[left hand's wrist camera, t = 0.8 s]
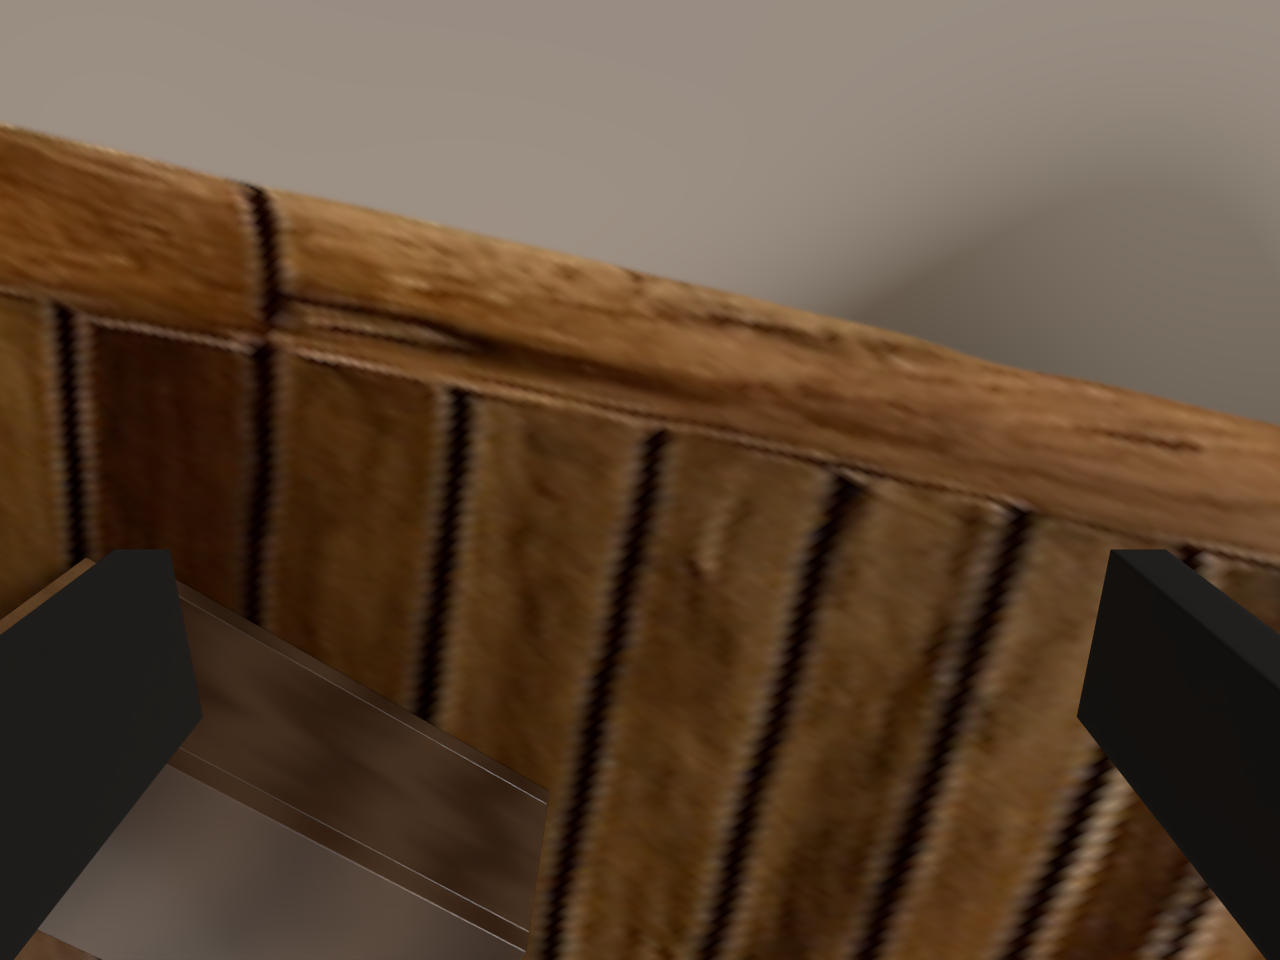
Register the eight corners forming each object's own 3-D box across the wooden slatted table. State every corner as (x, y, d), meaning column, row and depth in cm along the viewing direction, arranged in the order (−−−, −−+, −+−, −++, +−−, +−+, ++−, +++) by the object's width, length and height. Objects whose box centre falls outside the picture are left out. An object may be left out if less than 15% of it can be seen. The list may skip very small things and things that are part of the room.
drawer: (-118, 637, 41) (-281, 741, 34) (-45, 483, 39) (-205, 560, 31) (372, 889, 47) (321, 1026, 39) (466, 770, 44) (431, 893, 37)
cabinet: (76, 729, 44) (-71, 880, 35) (167, 574, 41) (32, 694, 32) (442, 918, 49) (396, 1097, 40) (549, 791, 46) (526, 952, 36)
